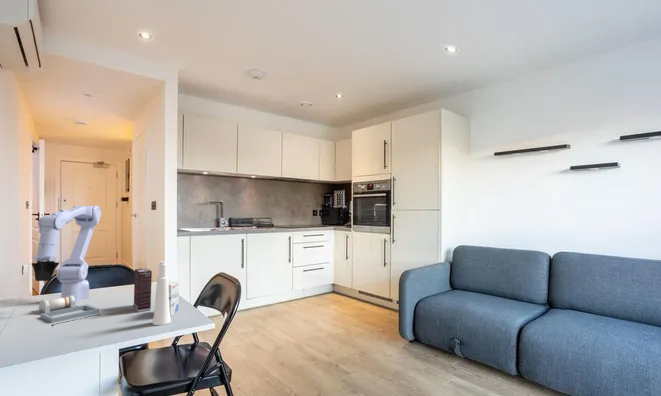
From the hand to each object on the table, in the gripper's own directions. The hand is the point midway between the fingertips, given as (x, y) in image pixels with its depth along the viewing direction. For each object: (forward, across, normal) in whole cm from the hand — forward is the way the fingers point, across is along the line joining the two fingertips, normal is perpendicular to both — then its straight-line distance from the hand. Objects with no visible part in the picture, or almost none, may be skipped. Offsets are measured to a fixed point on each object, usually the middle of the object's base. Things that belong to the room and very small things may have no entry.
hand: (42, 281), depth 134 cm
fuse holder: (+12, -2, +7) cm, 14 cm away
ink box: (+14, +36, +31) cm, 49 cm away
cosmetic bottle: (+16, +44, +24) cm, 53 cm away
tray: (+14, +11, +7) cm, 19 cm away
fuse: (+11, -2, +7) cm, 13 cm away
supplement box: (+12, +22, +28) cm, 37 cm away
